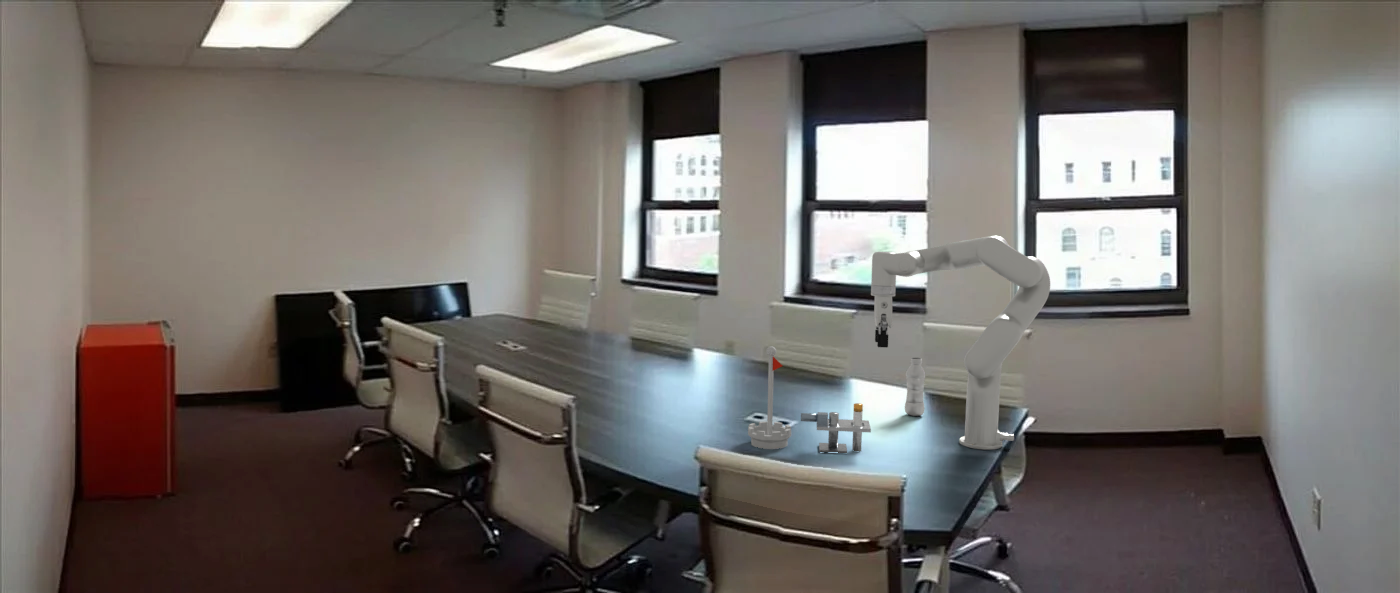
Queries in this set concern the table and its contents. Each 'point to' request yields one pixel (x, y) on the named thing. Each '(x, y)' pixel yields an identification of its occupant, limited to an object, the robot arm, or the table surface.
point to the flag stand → (770, 417)
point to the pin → (857, 422)
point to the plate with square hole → (834, 429)
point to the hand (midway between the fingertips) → (881, 344)
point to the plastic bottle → (915, 388)
